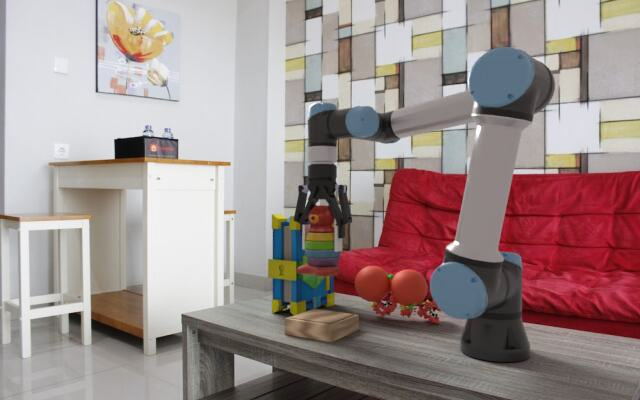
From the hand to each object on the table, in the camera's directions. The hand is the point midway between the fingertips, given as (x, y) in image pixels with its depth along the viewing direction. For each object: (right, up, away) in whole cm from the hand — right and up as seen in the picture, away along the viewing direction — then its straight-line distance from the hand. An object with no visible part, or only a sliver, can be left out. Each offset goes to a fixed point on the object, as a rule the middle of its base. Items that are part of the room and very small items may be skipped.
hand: (322, 250), depth 133 cm
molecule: (+22, -22, +12) cm, 33 cm away
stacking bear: (0, -6, 0) cm, 6 cm away
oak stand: (0, -21, 0) cm, 21 cm away
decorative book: (-5, -22, +27) cm, 35 cm away
